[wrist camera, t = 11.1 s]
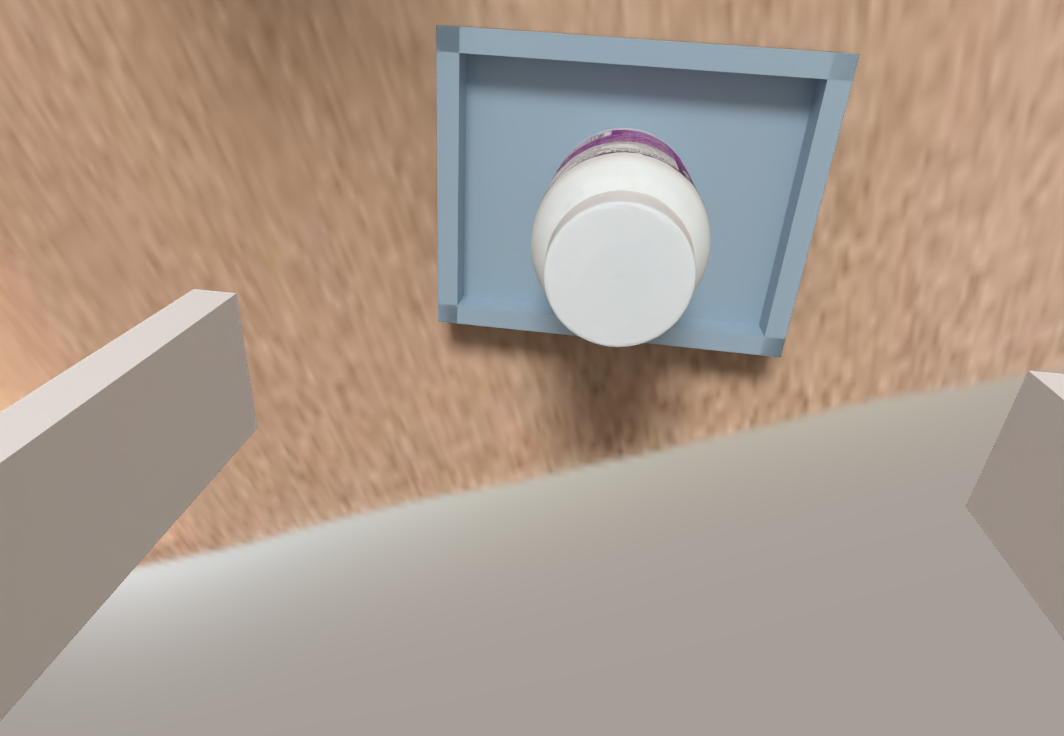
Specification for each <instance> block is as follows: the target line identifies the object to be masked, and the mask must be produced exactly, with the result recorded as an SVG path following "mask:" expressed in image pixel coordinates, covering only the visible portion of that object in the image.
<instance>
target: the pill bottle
mask: <svg viewBox="0 0 1064 736" xmlns="http://www.w3.org/2000/svg"><path fill="white" fill-rule="evenodd" d="M710 245H711V235H710V225H709V219H708V215H707V212H706V209H705V206H704V204H703V201H702V199H701V197H700V195H699V193H698V191H697V190H696V188H695V186H694V184H693V181H692V179H691V177H690V175H689V173H688V171H687V169H686V167H685V165H684V164H683V162H682V160H681V159H680V158H679V156H678V155H677V154H676V152H675V151H674V150H673V149H672V148H671V147H670V146H669V145H668V144H667V143H665V142H664V141H663V140H661V139H660V138H658V137H656V136H655V135H653V134H651V133H648V132H646V131H643V130H639V129H633V128H614V129H608V130H604V131H601V132H598V133H596V134H594V135H591V136H589V137H588V138H586V139H585V140H583V141H582V142H580V143H579V144H578V145H577V146H575V147H574V148H573V149H572V150H571V151H570V152H569V154H568V155H567V156H566V157H565V159H564V160H563V161H562V163H561V165H560V166H559V168H558V170H557V171H556V173H555V175H554V177H553V179H552V181H551V183H550V185H549V187H548V189H547V191H546V193H545V195H544V197H543V199H542V201H541V203H540V205H539V207H538V209H537V214H536V217H535V220H534V224H533V228H532V234H531V256H532V262H533V267H534V270H535V273H536V276H537V278H538V281H539V283H540V285H541V287H542V289H543V290H544V292H545V293H546V297H547V299H548V302H549V304H550V306H551V308H552V310H553V312H554V313H555V315H556V316H557V318H558V319H559V320H560V321H561V322H562V323H563V324H564V325H565V326H566V327H567V328H568V329H569V330H570V331H572V332H573V333H574V334H576V335H577V336H579V337H581V338H583V339H585V340H587V341H590V342H592V343H595V344H599V345H603V346H608V347H627V346H634V345H638V344H642V343H645V342H648V341H650V340H652V339H654V338H656V337H658V336H660V335H662V334H663V333H664V332H666V331H667V330H668V329H670V328H671V327H672V326H673V325H674V324H675V323H676V322H677V321H678V320H679V318H680V317H681V316H682V315H683V313H684V312H685V310H686V308H687V307H688V304H689V302H690V300H691V298H692V295H693V293H694V291H695V290H696V288H697V287H698V285H699V283H700V281H701V279H702V277H703V275H704V273H705V270H706V267H707V263H708V259H709V255H710Z"/></svg>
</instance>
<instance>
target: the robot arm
mask: <svg viewBox="0 0 1064 736" xmlns="http://www.w3.org/2000/svg"><path fill="white" fill-rule="evenodd" d="M257 428H258V426H257V420H256V414H255V408H254V401H253V395H252V389H251V383H250V376H249V370H248V364H247V357H246V351H245V345H244V339H243V332H242V326H241V320H240V313H239V307H238V301H237V295H236V293H228V292H218V291H208V290H198V289H193V290H192V291H190V292H188V293H187V294H185V295H184V296H182V297H181V298H179V299H177V300H176V301H174V302H173V303H171V304H170V305H168V306H166V307H165V308H163V309H162V310H160V311H159V312H157V313H155V314H154V315H152V316H151V317H149V318H148V319H146V320H144V321H143V322H141V323H140V324H138V325H137V326H135V327H133V328H132V329H130V330H129V331H127V332H126V333H124V334H122V335H121V336H119V337H118V338H116V339H114V340H113V341H111V342H110V343H108V344H107V345H105V346H103V347H102V348H100V349H99V350H97V351H96V352H94V353H92V354H91V355H89V356H88V357H86V358H85V359H83V360H81V361H80V362H78V363H77V364H75V365H74V366H72V367H70V368H69V369H67V370H66V371H64V372H63V373H61V374H59V375H58V376H56V377H55V378H53V379H52V380H50V381H48V382H47V383H45V384H44V385H42V386H41V387H39V388H37V389H36V390H34V391H33V392H31V393H29V394H28V395H26V396H25V397H23V398H22V399H20V400H18V401H17V402H15V403H14V404H12V405H11V406H9V407H7V408H6V409H4V410H3V411H1V412H0V721H1V720H2V719H3V718H4V716H5V715H6V714H7V713H8V712H9V711H10V710H11V708H12V707H13V706H14V705H15V704H16V703H17V702H18V700H19V699H20V698H21V697H22V696H23V695H24V694H25V692H26V691H27V690H28V689H29V688H30V687H31V686H32V684H33V683H34V682H35V681H36V680H37V679H38V678H39V676H40V675H41V674H42V673H43V672H44V671H45V670H46V668H47V667H48V666H49V665H50V664H51V663H52V661H53V660H54V659H55V658H56V657H57V656H58V655H59V654H60V652H61V651H62V650H63V649H64V648H65V647H66V646H67V644H68V643H69V642H70V641H71V640H72V639H73V638H74V637H75V635H76V634H77V633H78V632H79V631H80V630H81V629H82V627H83V626H84V625H85V624H86V623H87V621H89V619H90V618H91V617H92V616H93V615H94V614H95V613H96V611H97V610H98V609H99V608H100V607H101V606H102V605H103V603H104V602H105V601H106V600H107V599H108V598H109V597H110V595H111V594H112V593H113V592H114V591H115V590H116V589H117V587H118V586H119V585H120V584H121V583H122V582H123V581H124V579H125V578H126V577H127V576H128V575H129V574H130V573H131V571H132V570H133V569H134V568H135V567H136V566H137V565H138V564H139V562H140V561H141V560H142V559H143V558H144V557H145V556H146V554H147V553H148V552H149V551H150V550H151V549H152V548H153V546H154V545H155V544H156V543H157V542H158V541H159V540H160V538H161V537H162V536H163V535H164V534H165V533H166V532H167V530H168V529H169V528H170V527H171V526H172V525H173V524H174V522H175V521H176V520H177V519H178V518H179V517H180V516H181V514H182V513H183V512H184V511H185V510H186V509H187V508H188V506H189V505H190V504H191V503H192V502H193V501H194V500H195V498H196V497H197V496H198V495H199V494H200V493H201V492H202V490H203V489H204V488H205V487H206V486H207V485H208V484H209V482H210V481H211V480H212V479H213V478H214V477H215V476H216V475H217V473H218V472H219V471H220V470H221V469H222V468H223V467H224V465H225V464H226V463H227V462H228V461H229V460H230V459H231V457H232V456H233V455H234V454H235V453H236V452H237V451H238V449H239V448H240V447H241V446H242V445H243V444H244V443H245V441H246V440H247V439H248V438H249V437H250V436H251V435H252V433H253V432H254V431H255V430H256V429H257ZM966 508H967V509H968V510H969V512H970V513H971V514H972V516H973V517H974V518H975V520H976V521H977V523H978V524H979V525H980V527H981V528H982V529H983V531H984V532H985V533H986V535H987V536H988V538H989V539H990V540H991V542H992V543H993V544H994V546H995V547H996V548H997V550H998V551H999V552H1000V554H1001V555H1002V557H1003V558H1004V559H1005V560H1006V562H1007V563H1008V565H1009V566H1010V568H1011V569H1012V570H1013V572H1014V573H1015V574H1016V576H1017V577H1018V578H1019V580H1020V581H1021V583H1022V584H1023V585H1024V587H1025V588H1026V589H1027V591H1028V592H1029V593H1030V595H1031V596H1032V598H1033V599H1034V600H1035V602H1036V603H1037V604H1038V606H1039V607H1040V608H1041V610H1042V611H1043V613H1044V614H1045V615H1046V616H1047V618H1048V619H1049V621H1050V622H1051V623H1052V625H1053V626H1054V628H1055V629H1056V630H1057V631H1058V633H1059V634H1060V636H1061V637H1062V638H1063V640H1064V374H1058V373H1048V372H1037V371H1028V373H1027V375H1026V377H1025V379H1024V381H1023V384H1022V386H1021V388H1020V390H1019V393H1018V394H1017V397H1016V399H1015V401H1014V403H1013V405H1012V408H1011V410H1010V412H1009V414H1008V416H1007V418H1006V420H1005V422H1004V425H1003V427H1002V429H1001V431H1000V433H999V436H998V438H997V440H996V442H995V444H994V446H993V448H992V451H991V453H990V455H989V457H988V459H987V461H986V463H985V466H984V468H983V470H982V472H981V475H980V476H979V479H978V481H977V483H976V485H975V487H974V490H973V492H972V494H971V496H970V498H969V500H968V503H967V504H966Z"/></svg>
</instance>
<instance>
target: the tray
mask: <svg viewBox="0 0 1064 736" xmlns="http://www.w3.org/2000/svg"><path fill="white" fill-rule="evenodd" d="M436 43H437V203H438V321H439V322H449V323H458V324H468V325H477V326H487V327H496V328H506V329H515V330H525V331H534V332H544V333H554V334H563V335H573V336H577V335H576V334H574V333H573V332H572V331H570V330H569V329H568V328H567V327H566V326H565V325H564V324H563V323H562V322H561V321H560V320H559V319H558V318H557V316H556V315H555V313H554V312H553V310H552V308H551V306H550V304H549V302H548V299H547V297H546V293H545V292H544V290H543V289H542V287H541V285H540V283H539V281H538V278H537V276H536V273H535V270H534V267H533V262H532V256H531V234H532V228H533V224H534V220H535V217H536V214H537V209H538V207H539V205H540V203H541V201H542V199H543V197H544V195H545V193H546V191H547V189H548V187H549V185H550V183H551V181H552V179H553V177H554V175H555V173H556V171H557V170H558V168H559V166H560V165H561V163H562V161H563V160H564V159H565V157H566V156H567V155H568V154H569V152H570V151H571V150H572V149H573V148H574V147H575V146H577V145H578V144H579V143H580V142H582V141H583V140H585V139H586V138H588V137H589V136H591V135H594V134H596V133H598V132H601V131H604V130H608V129H614V128H633V129H639V130H643V131H646V132H648V133H651V134H653V135H655V136H656V137H658V138H660V139H661V140H663V141H664V142H665V143H667V144H668V145H669V146H670V147H671V148H672V149H673V150H674V151H675V152H676V154H677V155H678V156H679V158H680V159H681V160H682V162H683V164H684V165H685V167H686V169H687V171H688V173H689V175H690V177H691V179H692V181H693V184H694V186H695V188H696V190H697V191H698V193H699V195H700V197H701V199H702V201H703V204H704V206H705V209H706V212H707V215H708V219H709V225H710V235H711V245H710V255H709V259H708V263H707V267H706V270H705V273H704V275H703V277H702V279H701V281H700V283H699V285H698V287H697V288H696V290H695V291H694V293H693V295H692V298H691V300H690V302H689V304H688V307H687V308H686V310H685V312H684V313H683V315H682V316H681V317H680V318H679V320H678V321H677V322H676V323H675V324H674V325H673V326H672V327H671V328H670V329H668V330H667V331H666V332H664V333H663V334H662V335H660V336H658V337H656V338H654V339H652V340H650V341H648V342H645V343H649V344H659V345H668V346H678V347H687V348H697V349H706V350H716V351H725V352H735V353H744V354H754V355H764V356H773V357H781V353H782V350H783V346H784V342H785V338H786V334H787V330H788V327H789V323H790V319H791V315H792V311H793V307H794V304H795V300H796V296H797V292H798V288H799V285H800V281H801V277H802V273H803V269H804V265H805V262H806V258H807V254H808V250H809V246H810V242H811V239H812V235H813V231H814V227H815V223H816V219H817V216H818V212H819V208H820V204H821V200H822V196H823V193H824V189H825V185H826V181H827V177H828V173H829V170H830V166H831V162H832V158H833V154H834V150H835V147H836V143H837V139H838V135H839V131H840V127H841V124H842V120H843V116H844V112H845V108H846V104H847V101H848V97H849V93H850V89H851V85H852V81H853V78H854V74H855V70H856V66H857V62H858V58H859V55H860V54H852V53H843V52H828V51H813V50H799V49H784V48H770V47H755V46H740V45H726V44H711V43H697V42H682V41H667V40H653V39H638V38H624V37H609V36H594V35H580V34H565V33H551V32H536V31H521V30H507V29H492V28H478V27H463V26H448V25H436Z"/></svg>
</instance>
